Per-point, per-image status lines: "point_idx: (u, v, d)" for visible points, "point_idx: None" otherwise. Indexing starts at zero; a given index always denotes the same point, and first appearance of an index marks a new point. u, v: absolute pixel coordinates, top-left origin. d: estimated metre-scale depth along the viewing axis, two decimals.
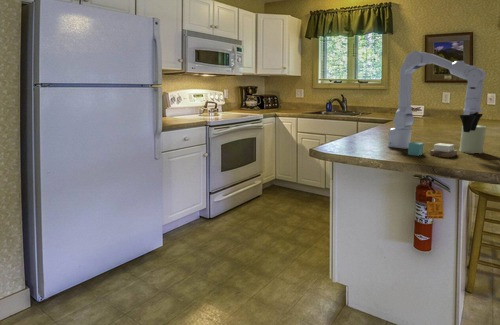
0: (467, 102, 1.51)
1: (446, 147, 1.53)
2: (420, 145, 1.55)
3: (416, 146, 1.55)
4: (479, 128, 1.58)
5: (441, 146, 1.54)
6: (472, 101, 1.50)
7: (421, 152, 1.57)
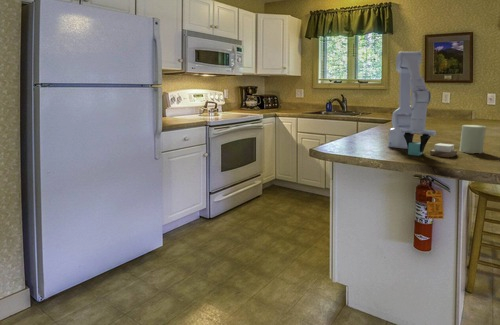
0: None
1: (447, 147, 1.53)
2: None
3: (416, 146, 1.55)
4: (479, 128, 1.58)
5: (441, 146, 1.54)
6: None
7: (421, 152, 1.57)
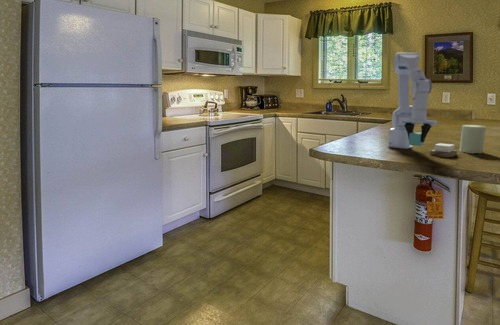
0: None
1: (447, 147, 1.53)
2: None
3: (417, 136, 1.54)
4: (479, 128, 1.58)
5: (442, 146, 1.54)
6: None
7: (422, 142, 1.56)
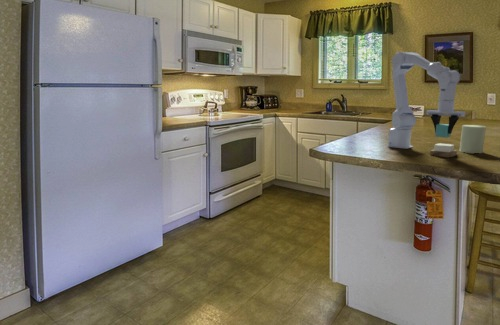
0: None
1: (447, 147, 1.52)
2: (448, 126, 1.52)
3: (444, 128, 1.52)
4: (479, 128, 1.58)
5: (441, 146, 1.54)
6: None
7: (449, 134, 1.54)
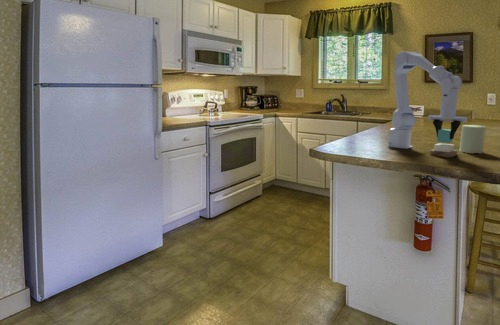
0: None
1: (446, 147, 1.52)
2: (450, 132, 1.52)
3: (447, 133, 1.52)
4: (479, 128, 1.58)
5: (441, 146, 1.54)
6: None
7: (451, 139, 1.54)
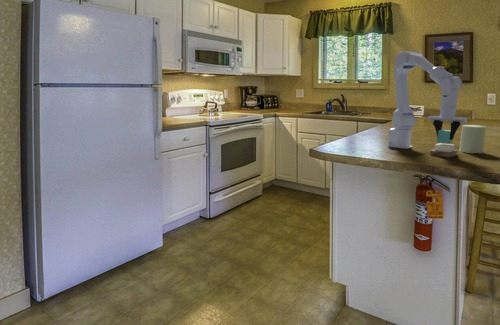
0: None
1: (447, 147, 1.53)
2: (450, 132, 1.52)
3: (446, 134, 1.52)
4: (479, 128, 1.58)
5: (442, 146, 1.54)
6: None
7: (451, 140, 1.54)
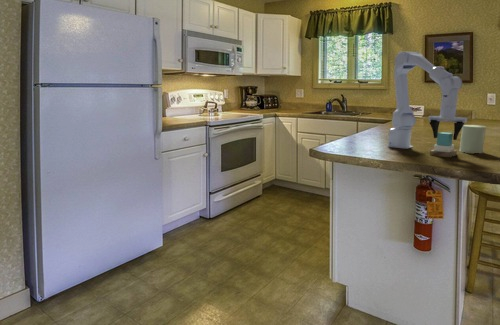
0: None
1: (446, 147, 1.53)
2: (450, 135, 1.53)
3: (446, 136, 1.53)
4: (479, 128, 1.58)
5: (441, 146, 1.54)
6: None
7: (450, 142, 1.55)
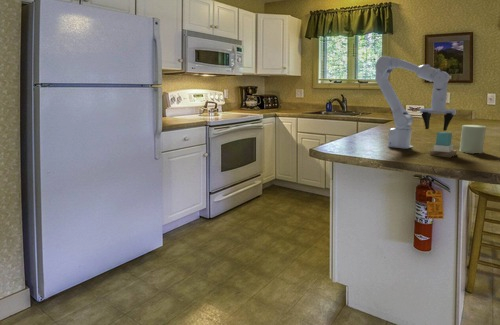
0: None
1: (446, 147, 1.53)
2: (449, 135, 1.53)
3: (445, 136, 1.53)
4: (479, 128, 1.58)
5: (441, 146, 1.54)
6: None
7: (449, 142, 1.55)
